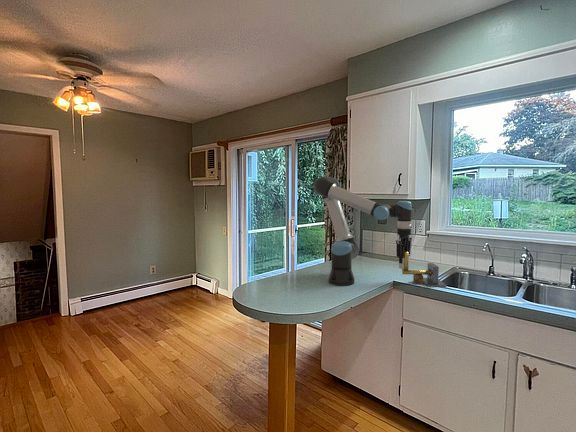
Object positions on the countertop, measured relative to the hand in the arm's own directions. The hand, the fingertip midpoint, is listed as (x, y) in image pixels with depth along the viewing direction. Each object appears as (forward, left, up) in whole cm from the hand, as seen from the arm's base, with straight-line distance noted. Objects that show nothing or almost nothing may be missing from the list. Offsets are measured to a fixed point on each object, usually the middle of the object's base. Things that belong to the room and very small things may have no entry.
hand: (403, 267), depth 184 cm
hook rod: (+9, -1, -4) cm, 10 cm away
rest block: (+8, -1, -9) cm, 12 cm away
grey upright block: (+16, -1, -9) cm, 18 cm away
